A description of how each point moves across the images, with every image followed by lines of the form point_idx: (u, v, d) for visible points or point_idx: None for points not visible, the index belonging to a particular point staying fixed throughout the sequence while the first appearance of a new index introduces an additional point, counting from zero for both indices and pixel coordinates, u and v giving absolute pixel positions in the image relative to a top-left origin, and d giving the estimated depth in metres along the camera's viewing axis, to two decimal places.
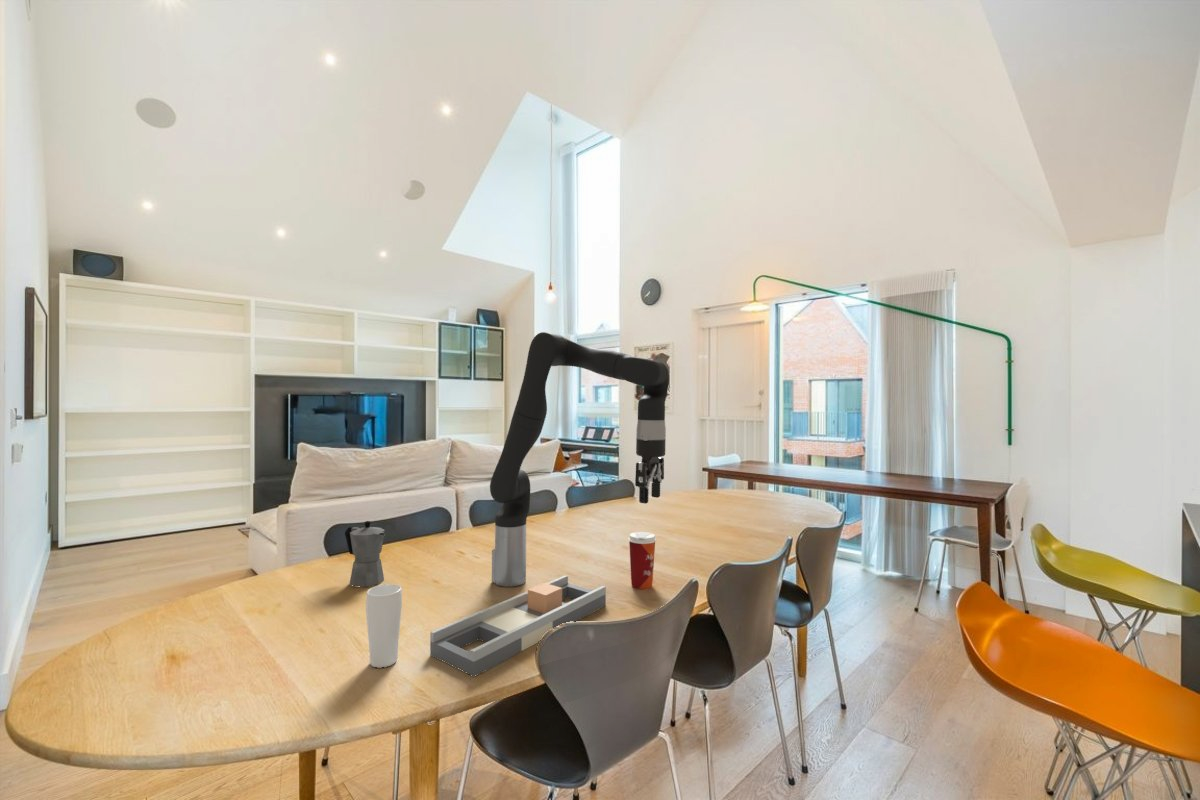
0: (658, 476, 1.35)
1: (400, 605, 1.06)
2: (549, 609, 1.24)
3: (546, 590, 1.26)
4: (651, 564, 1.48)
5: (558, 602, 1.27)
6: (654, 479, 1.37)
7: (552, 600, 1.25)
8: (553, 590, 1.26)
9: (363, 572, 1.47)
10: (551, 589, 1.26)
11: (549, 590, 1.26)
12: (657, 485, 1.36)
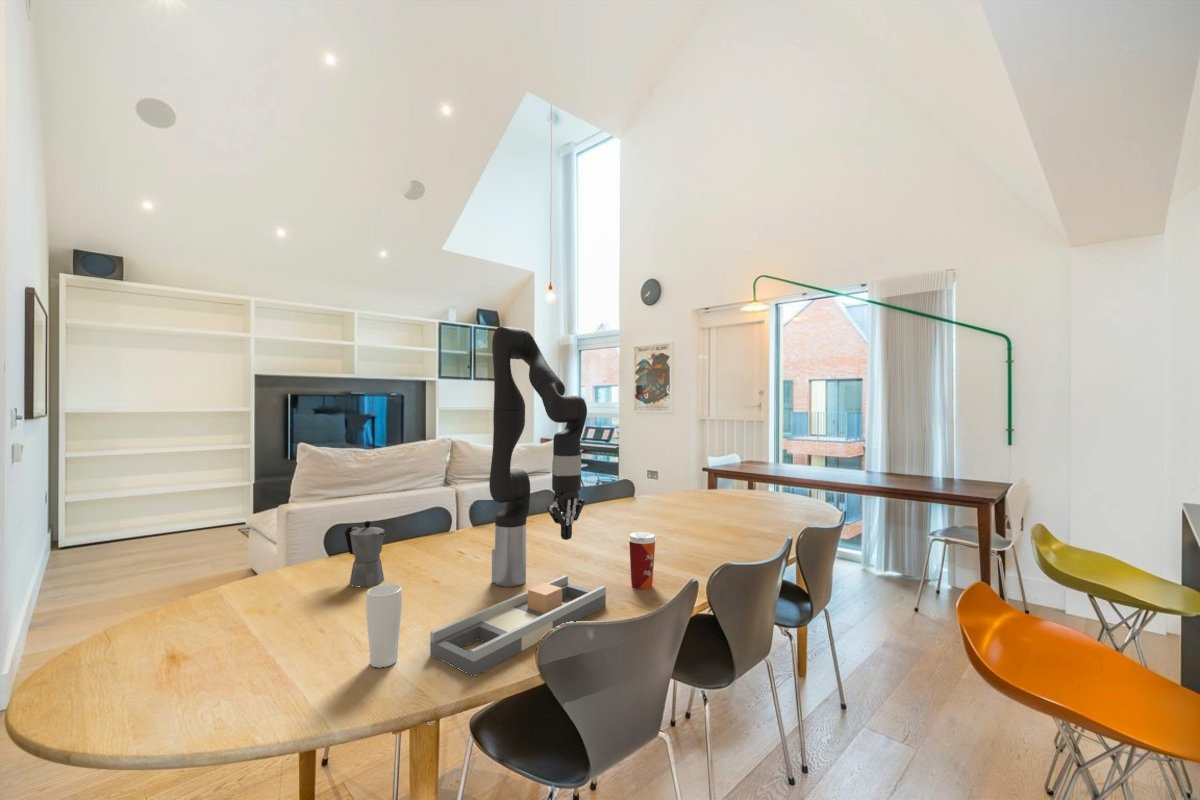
0: (570, 513, 1.33)
1: (400, 605, 1.06)
2: (549, 609, 1.24)
3: (546, 590, 1.26)
4: (651, 564, 1.48)
5: (558, 602, 1.27)
6: None
7: (552, 600, 1.25)
8: (553, 590, 1.26)
9: (363, 572, 1.47)
10: (551, 589, 1.26)
11: (549, 590, 1.26)
12: None
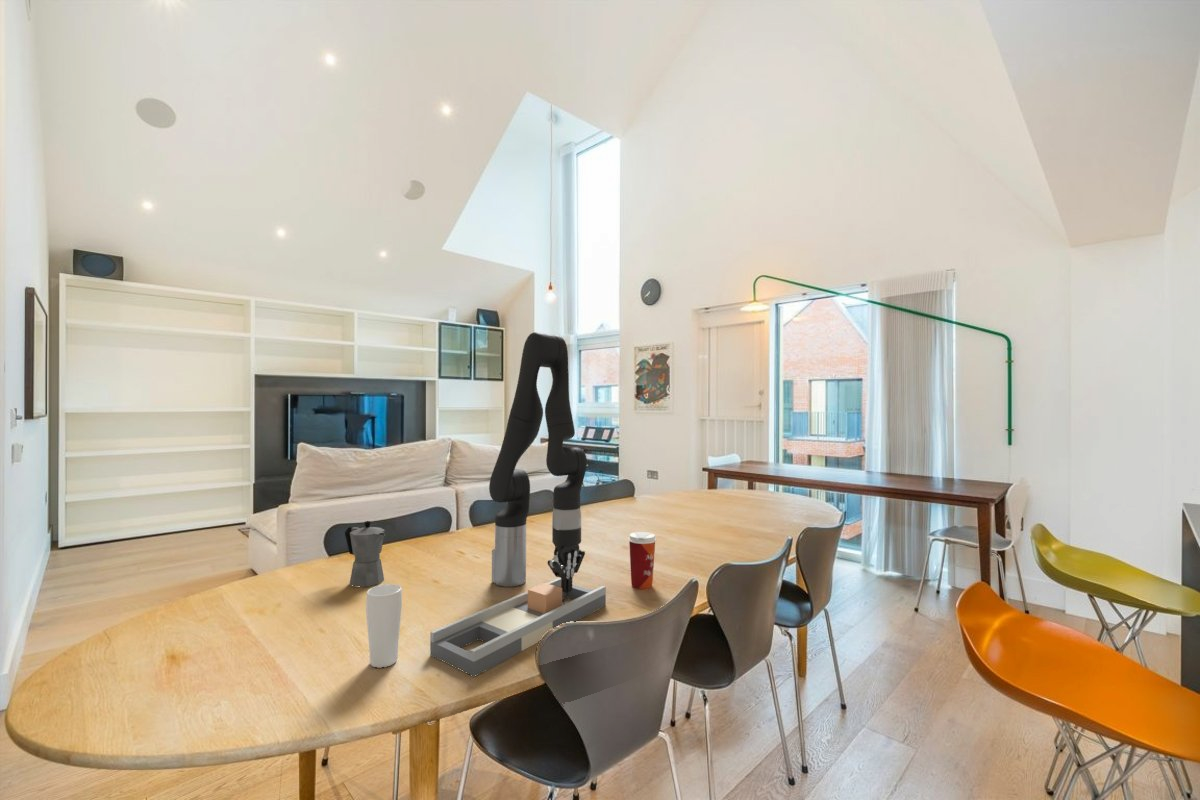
0: (571, 566, 1.33)
1: (400, 605, 1.06)
2: (549, 609, 1.24)
3: (546, 590, 1.26)
4: (651, 564, 1.48)
5: (558, 602, 1.27)
6: None
7: (552, 600, 1.25)
8: (553, 590, 1.26)
9: (363, 572, 1.47)
10: (551, 589, 1.26)
11: (549, 590, 1.26)
12: None
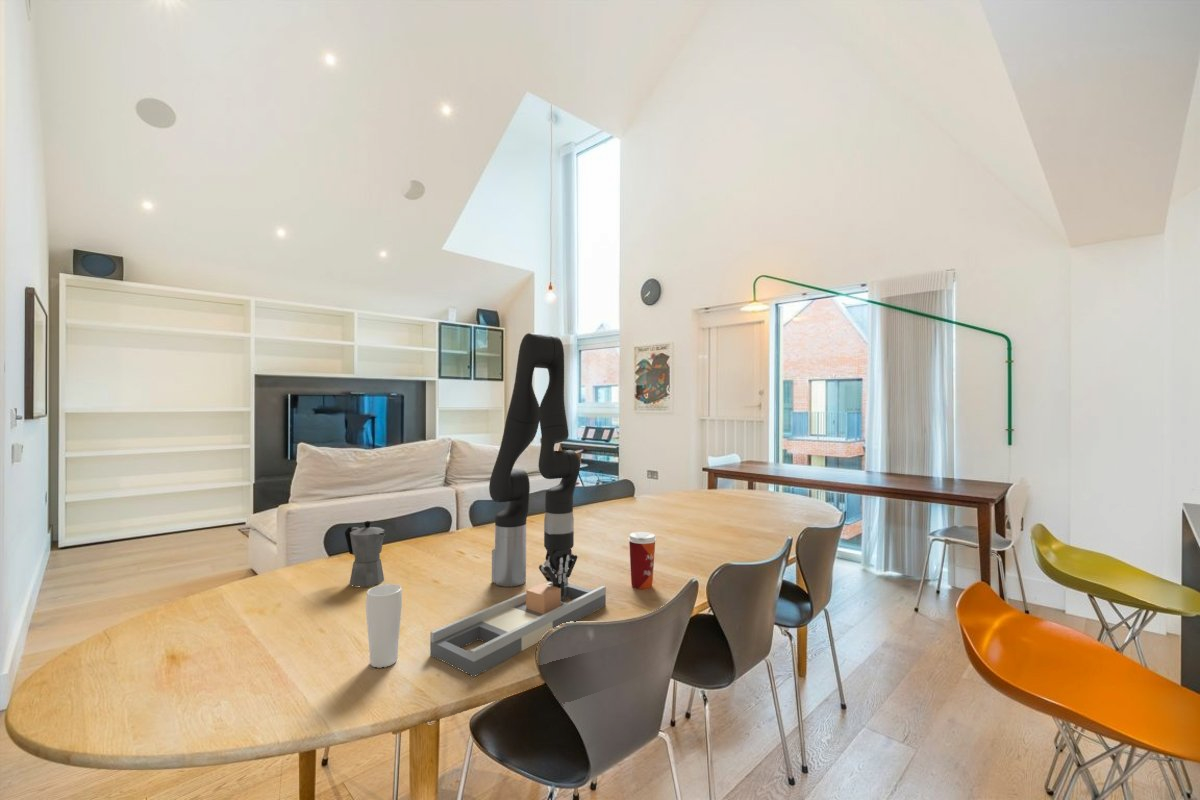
0: (563, 571, 1.31)
1: (400, 605, 1.06)
2: (548, 609, 1.24)
3: (544, 591, 1.25)
4: (651, 564, 1.48)
5: (556, 602, 1.26)
6: None
7: (551, 600, 1.25)
8: (551, 591, 1.25)
9: (363, 572, 1.47)
10: (549, 590, 1.26)
11: (548, 590, 1.26)
12: None
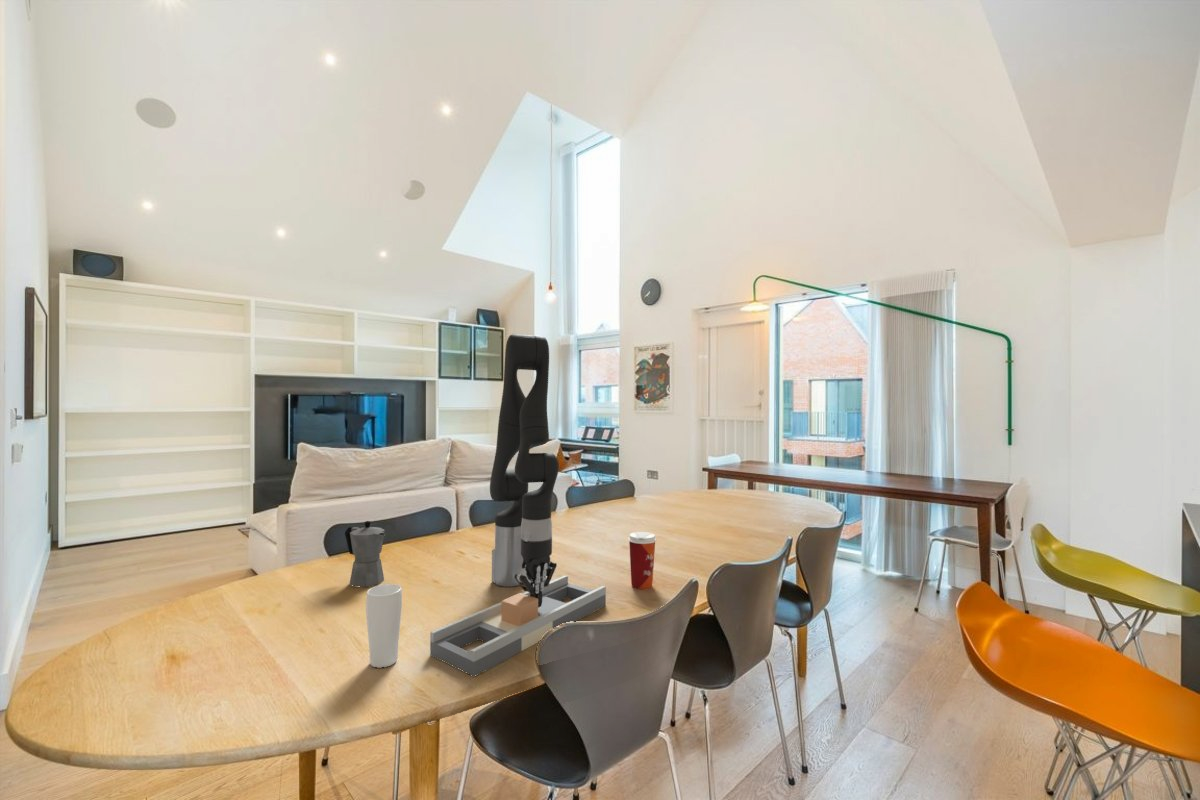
0: (540, 580, 1.24)
1: (400, 605, 1.06)
2: (524, 621, 1.17)
3: (521, 602, 1.19)
4: (651, 564, 1.48)
5: (534, 613, 1.20)
6: None
7: (528, 612, 1.18)
8: (528, 601, 1.19)
9: (363, 572, 1.47)
10: (526, 600, 1.19)
11: (525, 601, 1.19)
12: None
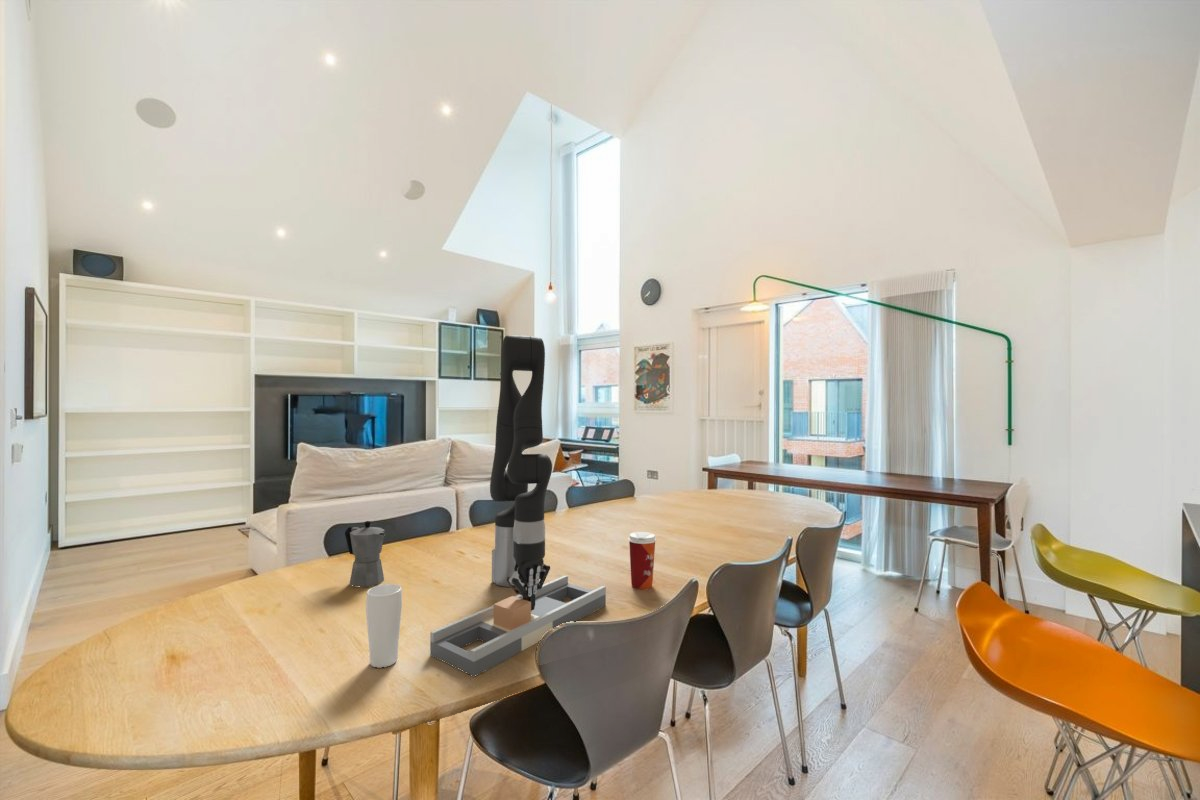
0: (533, 583, 1.22)
1: (400, 605, 1.06)
2: (516, 625, 1.15)
3: (513, 605, 1.17)
4: (651, 564, 1.48)
5: (526, 617, 1.18)
6: None
7: (520, 615, 1.16)
8: (520, 605, 1.17)
9: (363, 572, 1.47)
10: (519, 604, 1.17)
11: (517, 604, 1.17)
12: None
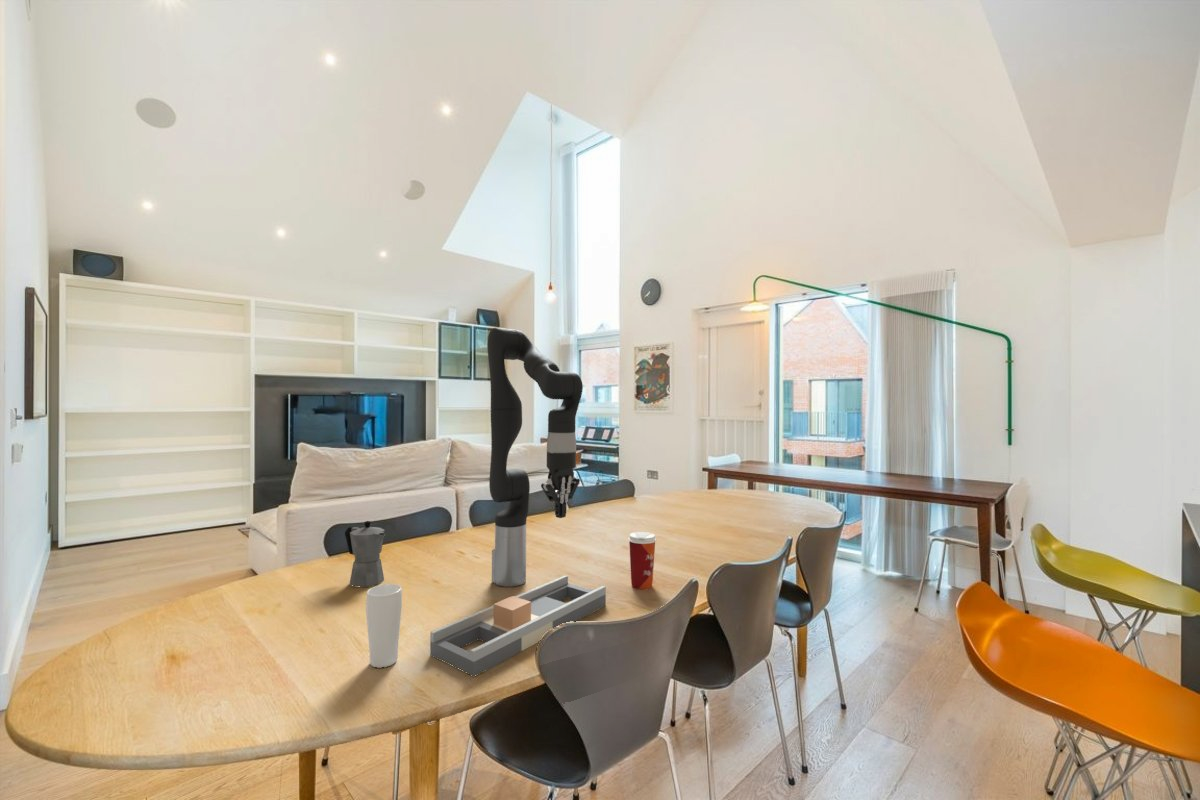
0: (565, 491, 1.31)
1: (400, 605, 1.06)
2: (516, 625, 1.15)
3: (513, 605, 1.17)
4: (651, 564, 1.48)
5: (526, 617, 1.18)
6: None
7: (520, 615, 1.16)
8: (520, 605, 1.17)
9: (363, 572, 1.47)
10: (519, 604, 1.17)
11: (517, 604, 1.17)
12: None
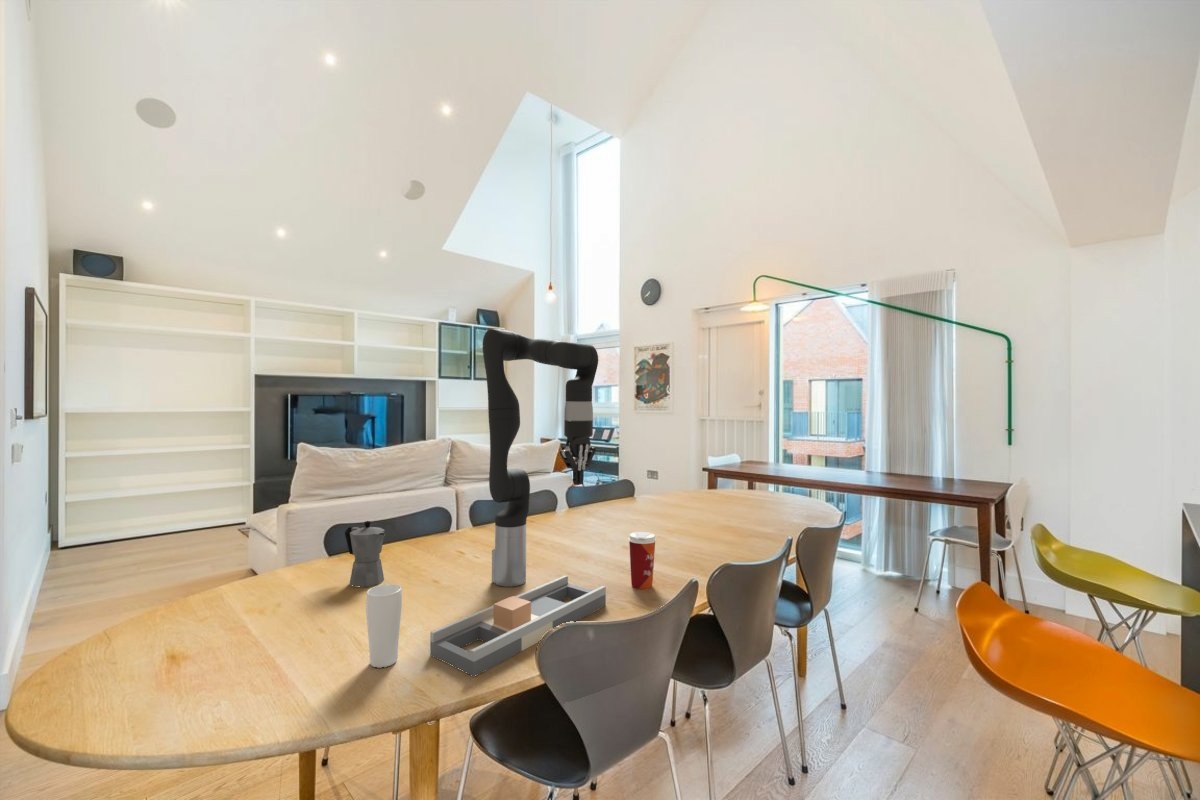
0: (582, 459, 1.35)
1: (400, 605, 1.06)
2: (516, 625, 1.15)
3: (513, 605, 1.17)
4: (651, 564, 1.48)
5: (526, 617, 1.18)
6: None
7: (520, 615, 1.16)
8: (520, 605, 1.17)
9: (363, 572, 1.47)
10: (519, 604, 1.17)
11: (517, 604, 1.17)
12: None
